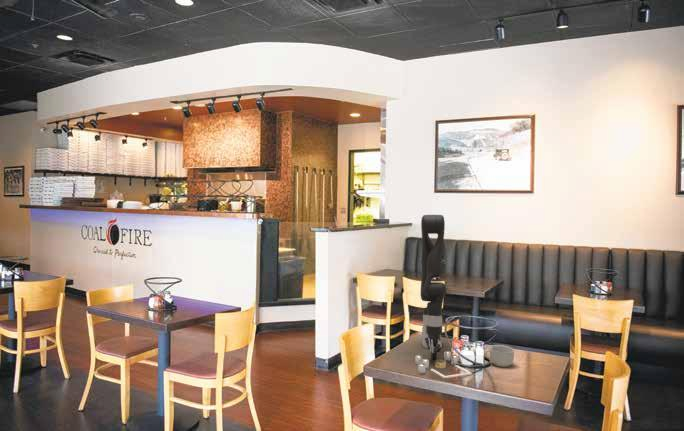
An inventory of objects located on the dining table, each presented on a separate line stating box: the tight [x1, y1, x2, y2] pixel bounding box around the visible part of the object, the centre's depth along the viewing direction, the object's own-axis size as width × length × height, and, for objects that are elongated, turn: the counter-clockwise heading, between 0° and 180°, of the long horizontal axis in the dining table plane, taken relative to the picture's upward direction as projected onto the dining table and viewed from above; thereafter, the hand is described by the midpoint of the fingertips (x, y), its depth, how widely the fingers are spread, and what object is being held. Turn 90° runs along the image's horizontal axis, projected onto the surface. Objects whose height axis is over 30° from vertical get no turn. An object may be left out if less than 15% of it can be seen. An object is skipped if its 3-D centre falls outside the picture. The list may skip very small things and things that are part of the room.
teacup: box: [483, 344, 515, 368], centre depth 228 cm, size 14×11×8 cm
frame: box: [429, 364, 473, 380], centre depth 217 cm, size 11×14×1 cm
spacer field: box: [414, 350, 458, 376], centre depth 225 cm, size 14×28×4 cm, turn 112°
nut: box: [434, 359, 447, 369], centre depth 225 cm, size 6×5×3 cm
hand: (433, 360), depth 230 cm, fingers closed
